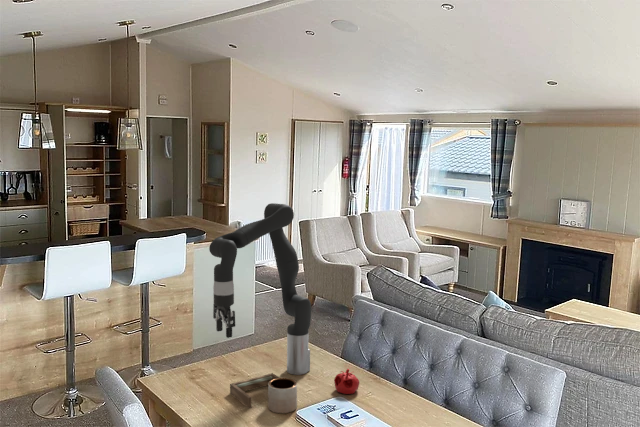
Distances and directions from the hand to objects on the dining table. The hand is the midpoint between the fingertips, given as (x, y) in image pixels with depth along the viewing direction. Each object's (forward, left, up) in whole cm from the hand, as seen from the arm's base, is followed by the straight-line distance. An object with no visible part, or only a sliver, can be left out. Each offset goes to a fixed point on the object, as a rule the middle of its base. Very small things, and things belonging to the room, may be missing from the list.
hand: (224, 334), depth 213 cm
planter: (-16, +17, -27) cm, 35 cm away
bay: (-15, +3, -27) cm, 30 cm away
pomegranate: (-45, +19, -27) cm, 55 cm away
